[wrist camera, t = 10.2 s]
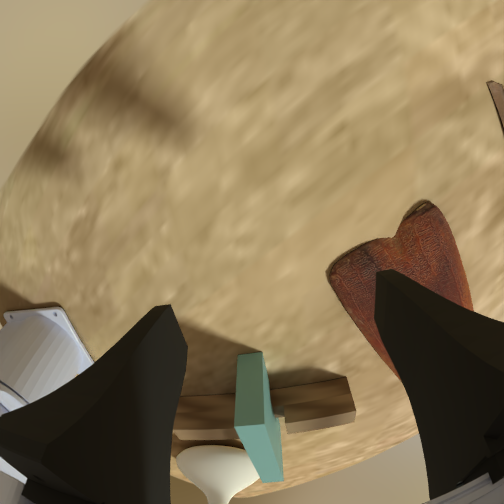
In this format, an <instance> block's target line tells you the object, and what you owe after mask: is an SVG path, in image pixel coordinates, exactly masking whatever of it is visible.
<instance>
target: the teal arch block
mask: <svg viewBox="0 0 504 504" xmlns="http://www.w3.org/2000/svg"><path fill="white" fill-rule="evenodd" d="M234 427H235V430H236V432H237V434H238V436H239V438H240V440H241V442H242V444H243V446H244V448H245V450H246V452H247V454H248V456H249V458H250V460H251V462H252V463H253V465H254V467H255V469H256V471H257V473H258V475H259V477H260V479H261V480H262V482H263V483H267V482H278V481H284V478H283V462H282V447H281V433H280V424H279V419H278V418H275V416H274V412H273V408H272V404H271V400H270V384H269V378H268V374H267V370H266V366H265V362H264V358H263V353H262V352H258V353H250V354H242V355H238V360H237V379H236V398H235V419H234Z"/></svg>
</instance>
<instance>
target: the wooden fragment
mask: <svg viewBox="0 0 504 504" xmlns="http://www.w3.org/2000/svg"><path fill="white" fill-rule="evenodd" d="M487 84H488V86H489V88H490V91H491V93H492V96H493V99H494V101H495V104H496V107H497V109H498V112H499V115H500V117H501V120H502V123H503V127H504V86H503V85H502V84H498V83H496V82H492V81H491V82H487Z"/></svg>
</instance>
